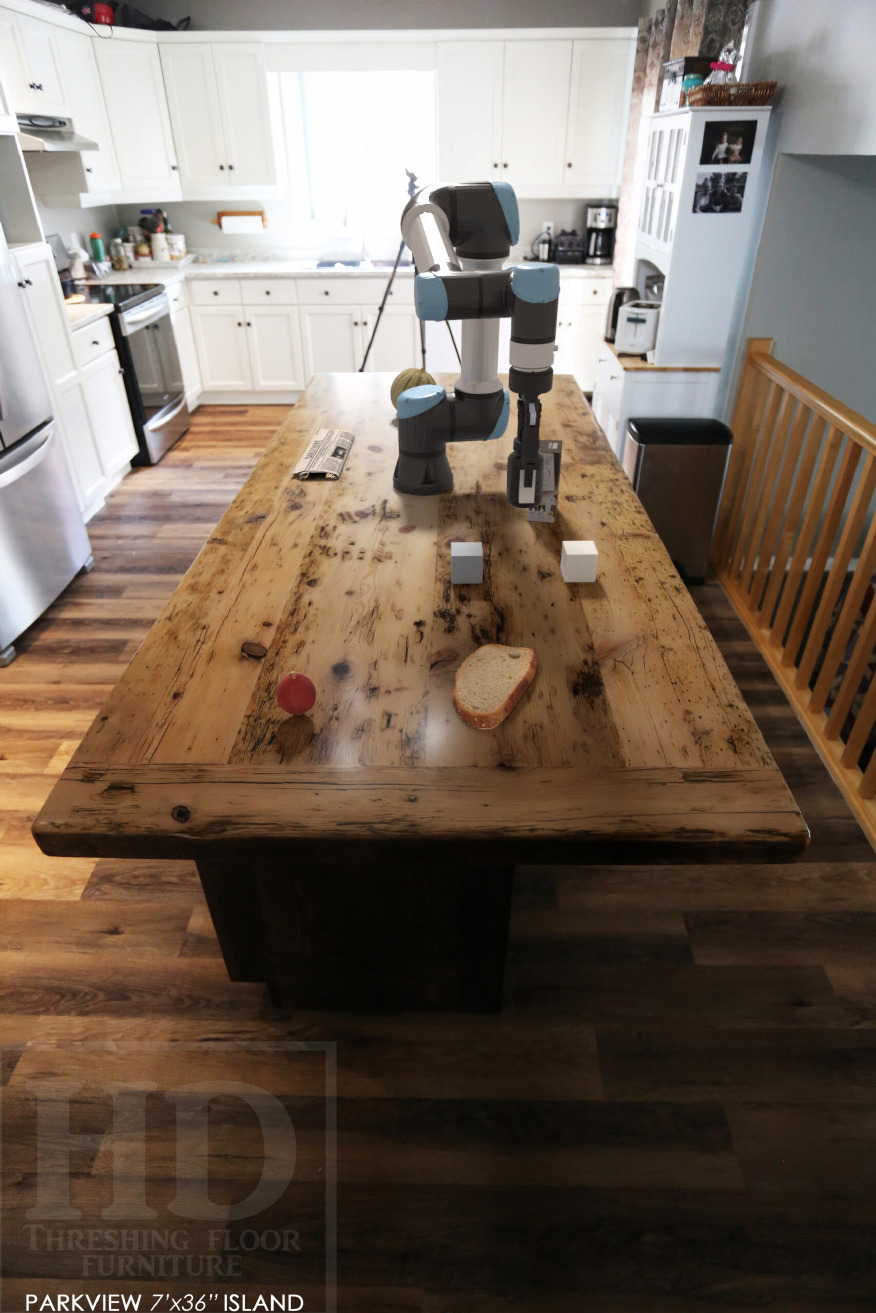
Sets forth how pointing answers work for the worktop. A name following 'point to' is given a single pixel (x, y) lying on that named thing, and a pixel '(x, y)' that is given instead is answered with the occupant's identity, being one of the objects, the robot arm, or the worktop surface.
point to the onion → (296, 694)
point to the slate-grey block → (466, 562)
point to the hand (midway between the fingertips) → (524, 494)
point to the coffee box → (548, 482)
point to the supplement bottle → (514, 476)
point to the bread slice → (492, 683)
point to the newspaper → (325, 452)
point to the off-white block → (579, 561)
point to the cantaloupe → (409, 382)
